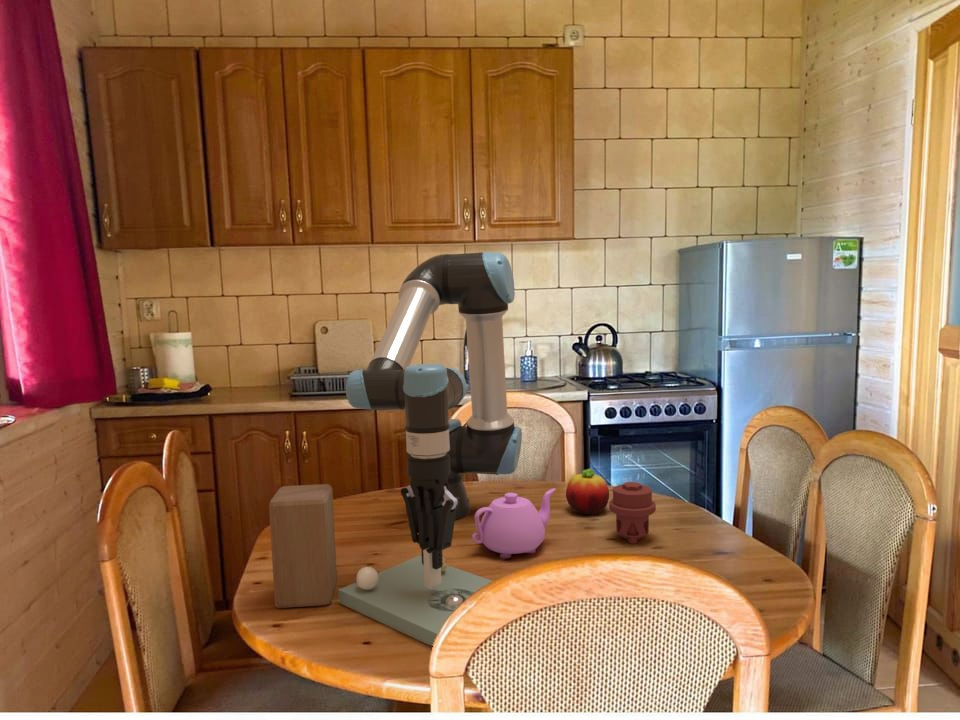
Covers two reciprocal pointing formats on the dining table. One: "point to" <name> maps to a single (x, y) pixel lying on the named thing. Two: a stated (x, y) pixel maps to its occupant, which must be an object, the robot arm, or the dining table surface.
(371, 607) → the board
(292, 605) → the wooden block
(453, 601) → the steel ball
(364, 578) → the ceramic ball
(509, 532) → the teapot
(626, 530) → the mechanical component
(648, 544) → the dining table surface
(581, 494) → the fruit
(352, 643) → the dining table surface
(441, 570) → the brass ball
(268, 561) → the dining table surface
